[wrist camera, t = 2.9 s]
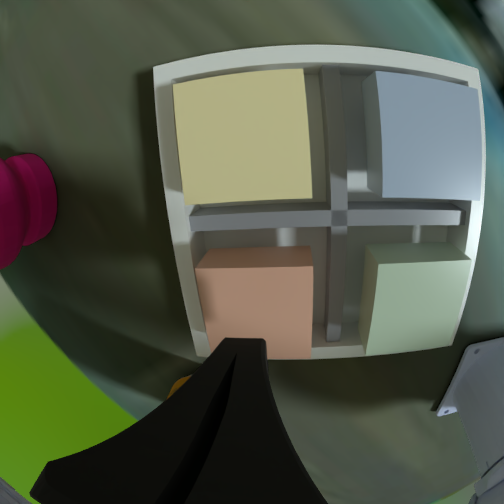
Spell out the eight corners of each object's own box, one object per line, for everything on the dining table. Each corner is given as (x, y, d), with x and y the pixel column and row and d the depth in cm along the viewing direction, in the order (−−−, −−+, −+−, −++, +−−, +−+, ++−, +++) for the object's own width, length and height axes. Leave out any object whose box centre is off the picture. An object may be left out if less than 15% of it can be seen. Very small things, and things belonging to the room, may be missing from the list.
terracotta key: (310, 245, 12) (313, 266, 10) (309, 329, 14) (310, 358, 12) (209, 248, 13) (194, 268, 11) (222, 329, 15) (211, 356, 13)
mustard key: (301, 81, 10) (303, 68, 8) (308, 188, 12) (312, 198, 10) (192, 93, 11) (172, 84, 9) (202, 194, 12) (185, 205, 10)
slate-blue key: (451, 94, 9) (477, 89, 7) (454, 190, 10) (480, 201, 8) (361, 82, 10) (375, 70, 8) (367, 187, 11) (382, 197, 9)
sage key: (449, 241, 11) (472, 259, 9) (433, 320, 13) (448, 345, 11) (365, 244, 12) (378, 264, 10) (357, 327, 14) (365, 355, 12)
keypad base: (454, 76, 10) (478, 69, 8) (437, 322, 15) (451, 345, 13) (174, 76, 12) (153, 67, 10) (207, 330, 17) (197, 356, 15)
